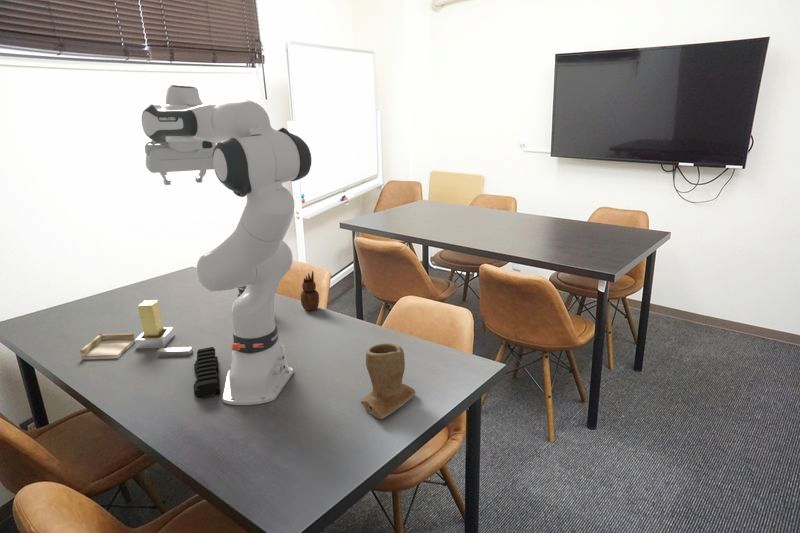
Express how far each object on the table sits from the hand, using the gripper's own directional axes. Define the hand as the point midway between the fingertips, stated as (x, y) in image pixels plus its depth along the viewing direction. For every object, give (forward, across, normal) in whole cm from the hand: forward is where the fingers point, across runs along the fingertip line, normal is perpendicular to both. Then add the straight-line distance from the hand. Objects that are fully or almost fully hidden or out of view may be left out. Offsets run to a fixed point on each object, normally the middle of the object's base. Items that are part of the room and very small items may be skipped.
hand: (183, 183), depth 150 cm
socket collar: (+51, -13, -11) cm, 54 cm away
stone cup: (+25, +21, -85) cm, 91 cm away
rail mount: (+40, -9, -45) cm, 61 cm away
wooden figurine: (+45, +39, -22) cm, 64 cm away
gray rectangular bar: (+47, -11, -24) cm, 54 cm away
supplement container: (+49, +21, -14) cm, 55 cm away
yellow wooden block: (+51, -13, -11) cm, 54 cm away
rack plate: (+53, -26, -8) cm, 59 cm away
